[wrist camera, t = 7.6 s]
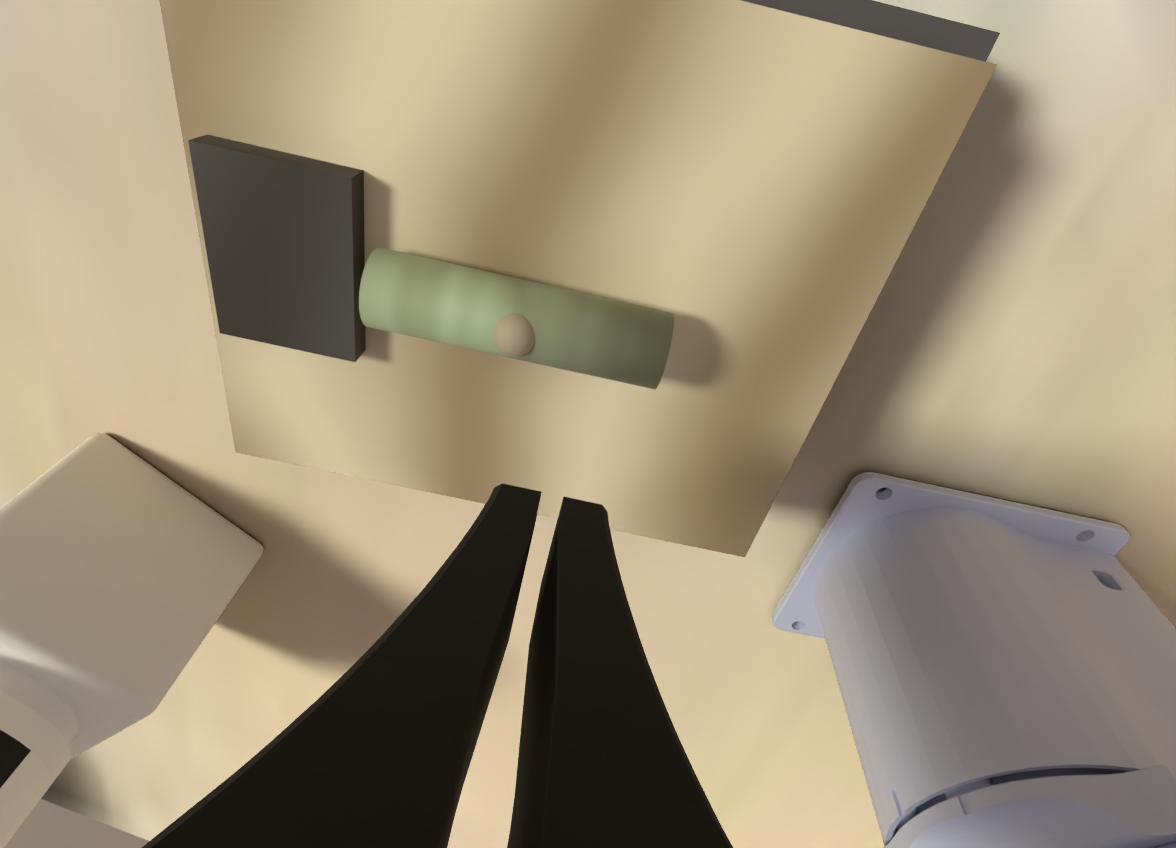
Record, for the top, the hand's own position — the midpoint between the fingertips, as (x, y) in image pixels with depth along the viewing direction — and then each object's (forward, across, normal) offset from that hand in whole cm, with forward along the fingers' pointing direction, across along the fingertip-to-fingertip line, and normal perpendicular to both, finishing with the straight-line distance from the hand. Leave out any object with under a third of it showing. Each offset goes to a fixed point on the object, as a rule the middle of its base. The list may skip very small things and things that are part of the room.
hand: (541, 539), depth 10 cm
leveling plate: (+7, +1, -1) cm, 7 cm away
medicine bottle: (+10, +15, +14) cm, 23 cm away
